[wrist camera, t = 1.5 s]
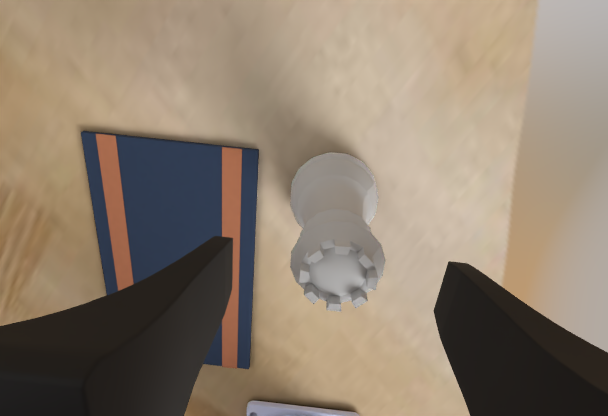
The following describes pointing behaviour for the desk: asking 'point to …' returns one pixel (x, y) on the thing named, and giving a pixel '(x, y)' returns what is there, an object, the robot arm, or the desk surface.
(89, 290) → the desk surface
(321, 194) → the rook chess piece
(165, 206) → the cloth
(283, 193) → the desk surface
